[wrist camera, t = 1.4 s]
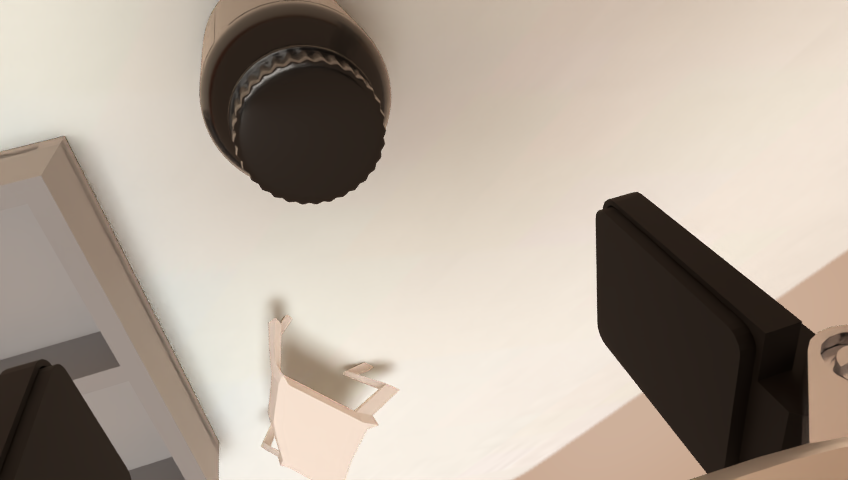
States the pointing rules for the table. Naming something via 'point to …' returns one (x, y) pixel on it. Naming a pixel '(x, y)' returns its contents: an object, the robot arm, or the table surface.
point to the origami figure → (316, 419)
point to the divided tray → (92, 317)
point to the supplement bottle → (294, 96)
